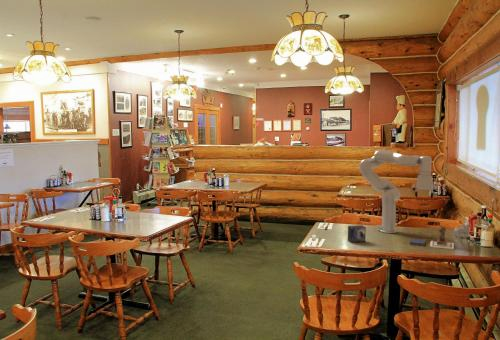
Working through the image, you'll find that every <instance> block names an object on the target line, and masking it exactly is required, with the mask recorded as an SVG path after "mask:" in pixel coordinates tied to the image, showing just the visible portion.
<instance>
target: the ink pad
mask: <svg viewBox="0 0 500 340" xmlns="http://www.w3.org/2000/svg"><path fill="white" fill-rule="evenodd" d="M425 243H426V239H420V238H410V241H409V245H411V246H412V245H413V246H420V247H425Z"/></svg>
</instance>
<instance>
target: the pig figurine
mask: <svg viewBox="0 0 500 340" xmlns="http://www.w3.org/2000/svg"><path fill="white" fill-rule="evenodd" d="M469 223H470V222H469V221H466V222H465V223H462V224H461V227H460V226H456V227H455V228H454V237H457V238H458V239H461V238H460V234H462V237H467V236H468V237H469V233H470V232H469Z"/></svg>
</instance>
